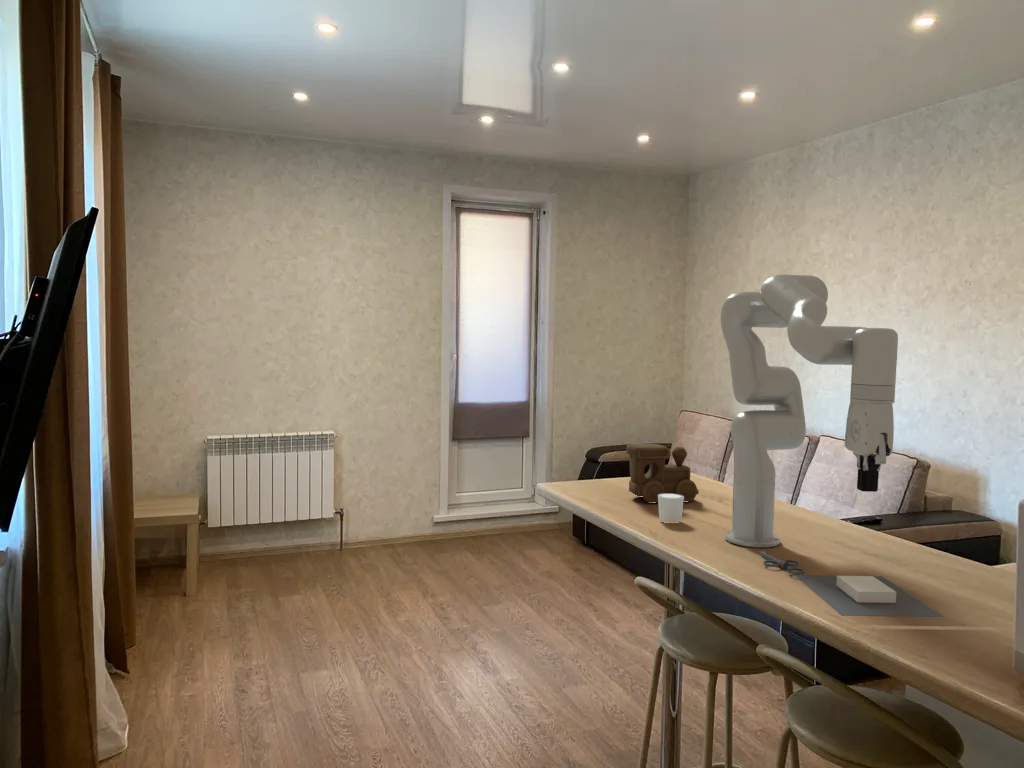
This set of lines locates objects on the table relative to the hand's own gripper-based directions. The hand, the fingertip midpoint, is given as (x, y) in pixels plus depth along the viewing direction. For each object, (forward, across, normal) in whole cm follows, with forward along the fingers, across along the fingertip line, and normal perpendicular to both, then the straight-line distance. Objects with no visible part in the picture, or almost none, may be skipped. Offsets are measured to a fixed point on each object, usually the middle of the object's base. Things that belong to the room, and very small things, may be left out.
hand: (867, 490), depth 141 cm
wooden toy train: (+22, -82, -22) cm, 87 cm away
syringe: (+21, -18, -10) cm, 29 cm away
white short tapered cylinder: (+21, -56, -25) cm, 64 cm away
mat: (+20, 0, 0) cm, 21 cm away
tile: (+19, -3, 0) cm, 19 cm away
